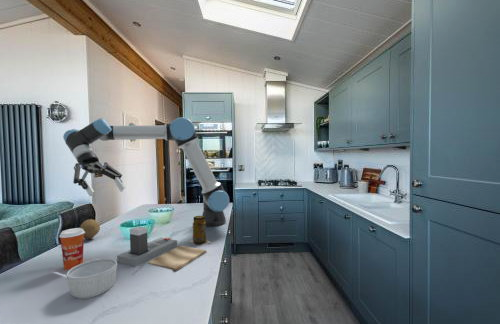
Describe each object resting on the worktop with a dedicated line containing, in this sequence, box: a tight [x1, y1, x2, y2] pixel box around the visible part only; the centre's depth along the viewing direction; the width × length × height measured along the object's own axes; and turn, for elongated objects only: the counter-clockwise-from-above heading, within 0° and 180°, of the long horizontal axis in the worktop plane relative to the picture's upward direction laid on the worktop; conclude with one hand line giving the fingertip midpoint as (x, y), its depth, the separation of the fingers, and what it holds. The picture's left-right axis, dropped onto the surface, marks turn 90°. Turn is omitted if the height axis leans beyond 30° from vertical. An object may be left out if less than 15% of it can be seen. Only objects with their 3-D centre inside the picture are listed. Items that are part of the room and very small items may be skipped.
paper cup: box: [59, 227, 85, 271], centre depth 90 cm, size 8×8×14 cm
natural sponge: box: [79, 218, 101, 240], centre depth 122 cm, size 9×9×10 cm
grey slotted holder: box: [116, 236, 178, 268], centre depth 101 cm, size 22×10×4 cm, turn 154°
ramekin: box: [66, 257, 118, 299], centre depth 75 cm, size 13×13×7 cm
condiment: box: [189, 215, 212, 247], centre depth 114 cm, size 7×8×12 cm
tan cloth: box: [147, 244, 207, 272], centre depth 97 cm, size 18×14×1 cm
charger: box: [129, 226, 149, 256], centre depth 96 cm, size 4×5×12 cm
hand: (108, 191), depth 103 cm, fingers open, 13 cm apart
